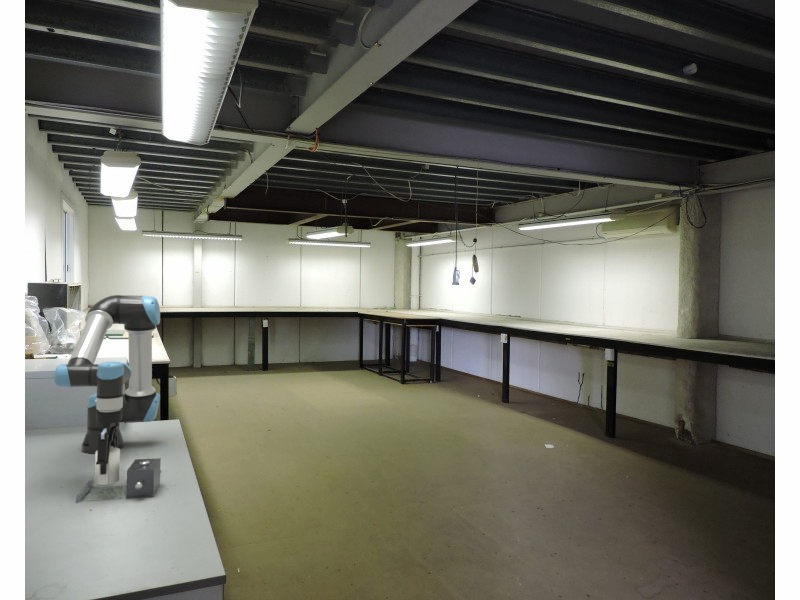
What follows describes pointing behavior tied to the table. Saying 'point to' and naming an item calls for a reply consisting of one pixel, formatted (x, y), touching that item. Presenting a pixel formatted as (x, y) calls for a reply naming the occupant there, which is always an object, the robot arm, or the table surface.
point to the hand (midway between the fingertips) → (107, 479)
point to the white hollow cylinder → (110, 466)
